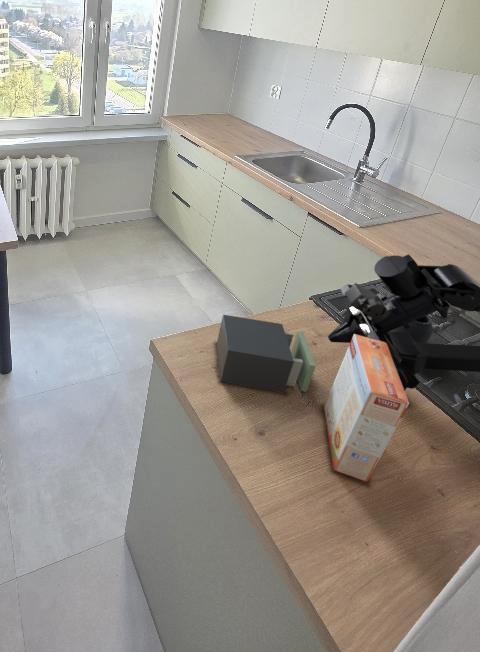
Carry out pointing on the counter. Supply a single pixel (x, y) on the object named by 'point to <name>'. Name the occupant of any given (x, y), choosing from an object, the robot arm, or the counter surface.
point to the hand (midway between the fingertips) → (329, 339)
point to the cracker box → (363, 407)
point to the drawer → (300, 361)
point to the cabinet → (253, 353)
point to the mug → (418, 329)
